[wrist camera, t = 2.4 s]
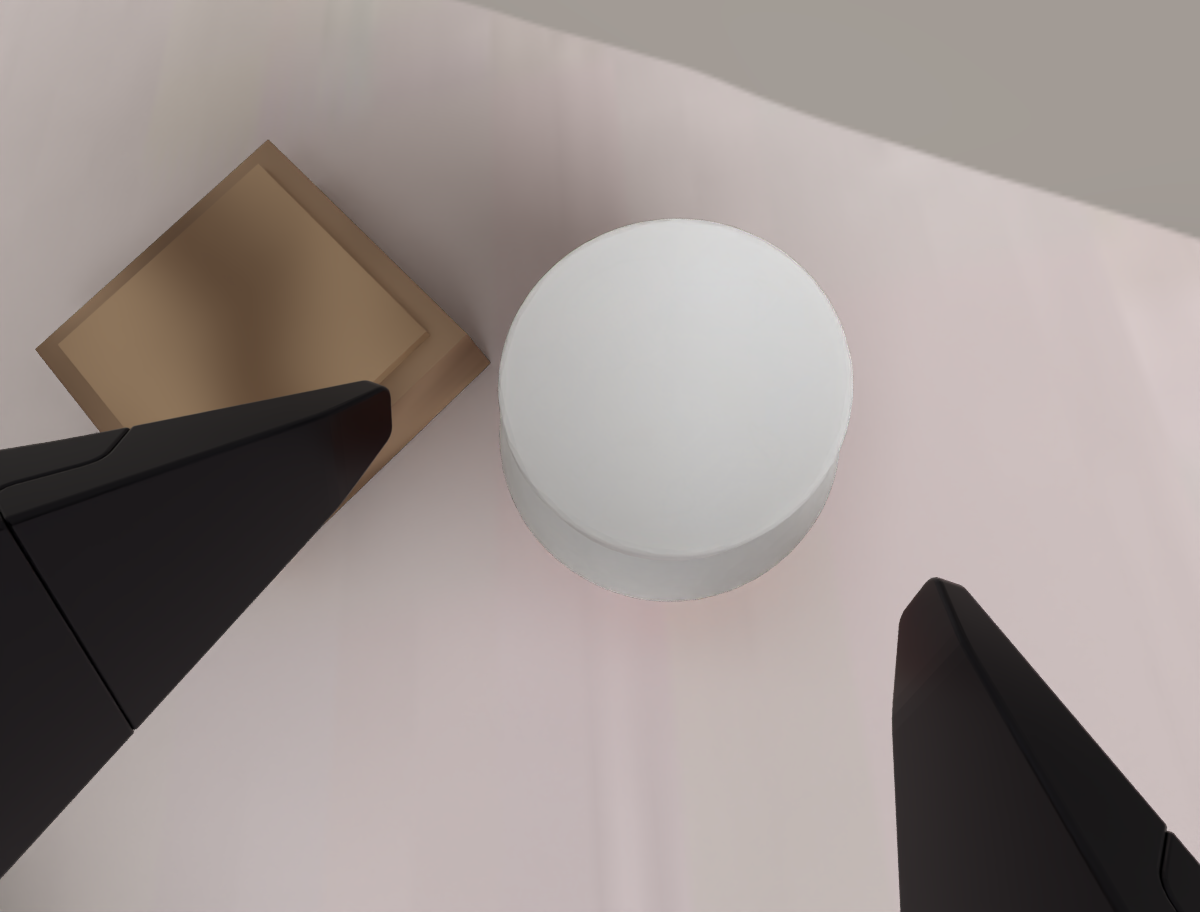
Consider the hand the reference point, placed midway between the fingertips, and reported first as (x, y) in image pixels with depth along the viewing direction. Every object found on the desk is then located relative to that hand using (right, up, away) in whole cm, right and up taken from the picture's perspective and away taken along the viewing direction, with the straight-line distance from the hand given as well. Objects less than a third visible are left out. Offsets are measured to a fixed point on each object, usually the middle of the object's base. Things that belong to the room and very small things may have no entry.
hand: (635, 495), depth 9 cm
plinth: (-11, +4, +11) cm, 16 cm away
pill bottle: (+1, 0, +9) cm, 9 cm away
